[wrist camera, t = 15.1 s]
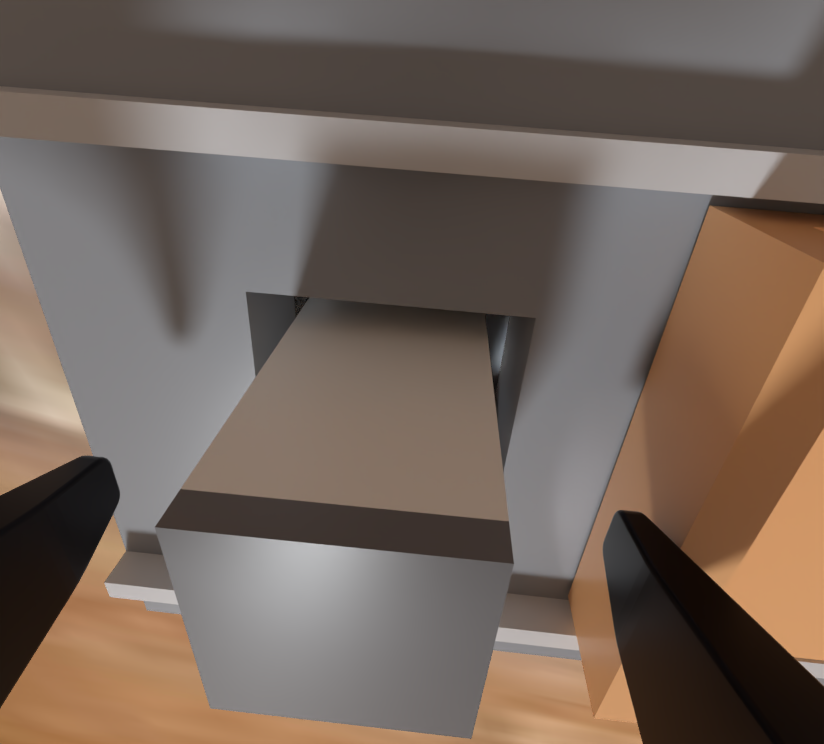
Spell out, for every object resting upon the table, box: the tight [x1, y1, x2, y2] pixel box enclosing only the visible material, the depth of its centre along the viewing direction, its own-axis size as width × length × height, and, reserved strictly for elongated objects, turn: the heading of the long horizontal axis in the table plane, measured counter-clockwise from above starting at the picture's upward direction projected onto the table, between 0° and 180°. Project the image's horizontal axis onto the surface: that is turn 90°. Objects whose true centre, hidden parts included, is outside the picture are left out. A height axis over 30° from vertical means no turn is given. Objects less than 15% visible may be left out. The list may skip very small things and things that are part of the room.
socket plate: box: [0, 0, 824, 686], centre depth 11 cm, size 22×16×4 cm
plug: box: [155, 297, 514, 739], centre depth 10 cm, size 4×4×8 cm
